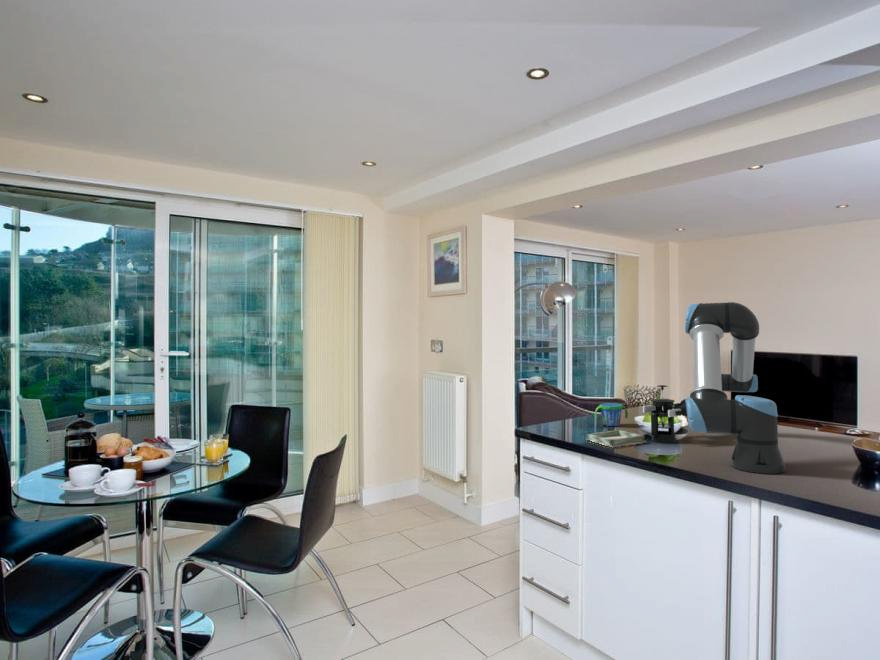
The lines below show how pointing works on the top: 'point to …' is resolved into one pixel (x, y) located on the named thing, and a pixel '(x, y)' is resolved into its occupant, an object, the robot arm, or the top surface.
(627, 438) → the tray
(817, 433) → the top surface
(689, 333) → the robot arm
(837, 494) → the top surface
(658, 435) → the french press
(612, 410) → the snack cup
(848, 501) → the top surface
